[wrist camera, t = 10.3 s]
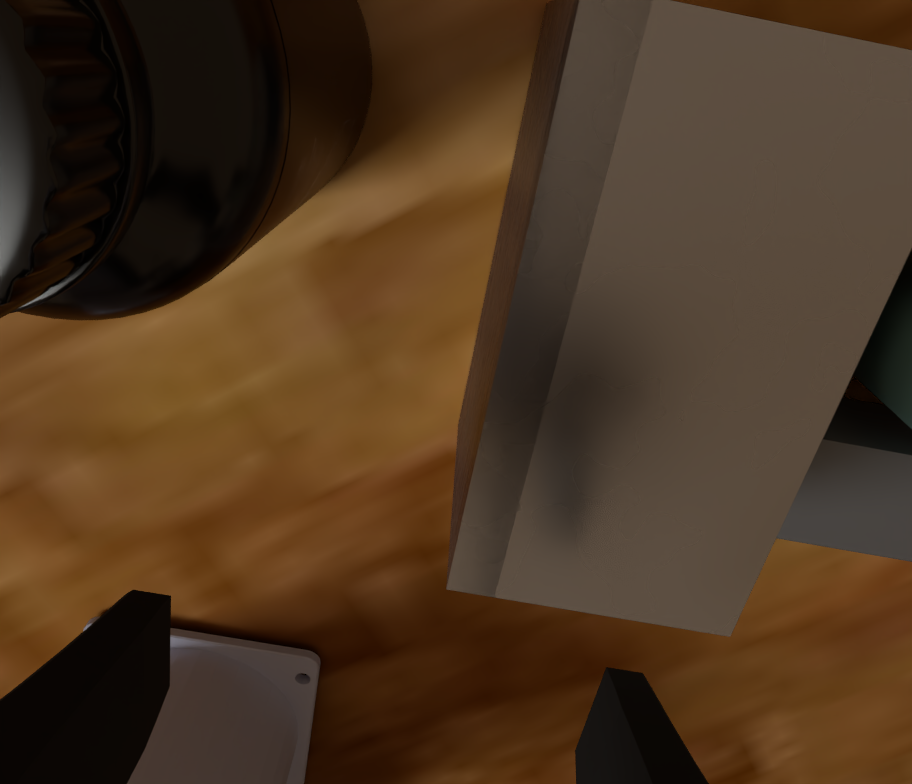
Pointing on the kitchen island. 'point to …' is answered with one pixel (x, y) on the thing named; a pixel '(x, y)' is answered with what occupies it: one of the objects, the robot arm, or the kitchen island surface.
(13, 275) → the supplement bottle
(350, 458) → the kitchen island surface
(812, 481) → the socket block
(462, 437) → the grey rectangular block
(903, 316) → the peg
